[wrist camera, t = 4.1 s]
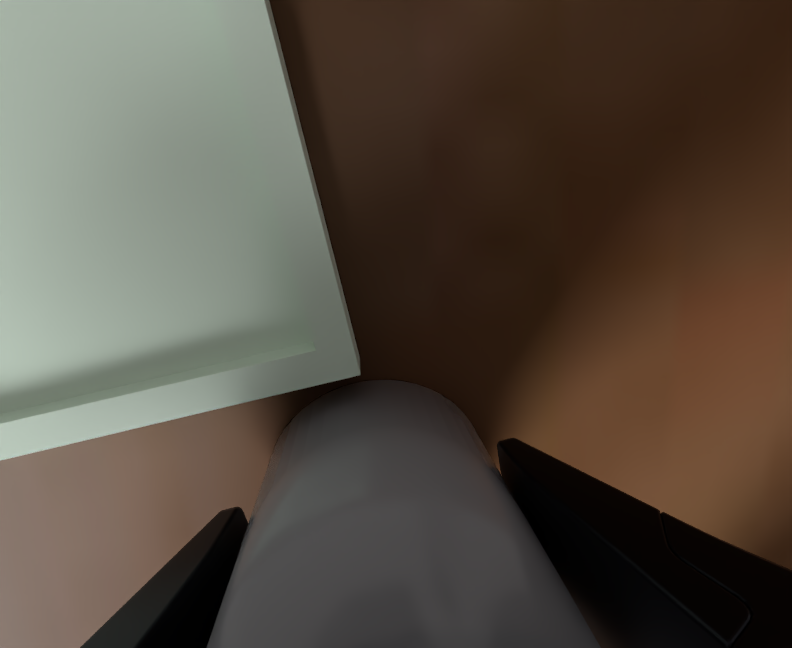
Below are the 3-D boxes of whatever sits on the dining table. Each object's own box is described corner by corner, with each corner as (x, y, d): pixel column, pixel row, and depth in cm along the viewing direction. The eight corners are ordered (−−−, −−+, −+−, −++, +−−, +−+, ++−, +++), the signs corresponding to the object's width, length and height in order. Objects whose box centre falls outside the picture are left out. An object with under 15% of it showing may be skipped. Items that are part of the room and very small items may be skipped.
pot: (300, 582, 11) (231, 1075, 5) (239, 408, 9) (-5, 821, 3) (493, 534, 11) (670, 933, 5) (469, 358, 10) (697, 630, 3)
